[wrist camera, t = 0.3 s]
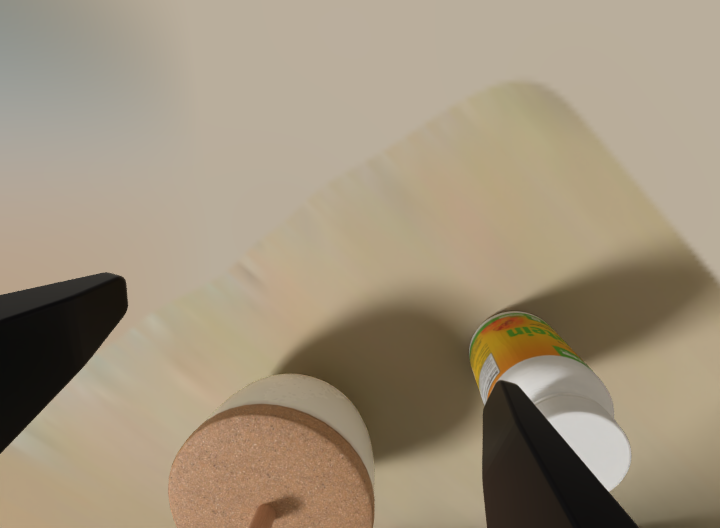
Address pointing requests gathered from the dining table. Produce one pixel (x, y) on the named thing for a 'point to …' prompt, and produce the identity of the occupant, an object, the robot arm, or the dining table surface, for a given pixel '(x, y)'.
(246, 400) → the lidded jar
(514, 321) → the supplement bottle
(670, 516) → the dining table surface
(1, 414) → the robot arm
